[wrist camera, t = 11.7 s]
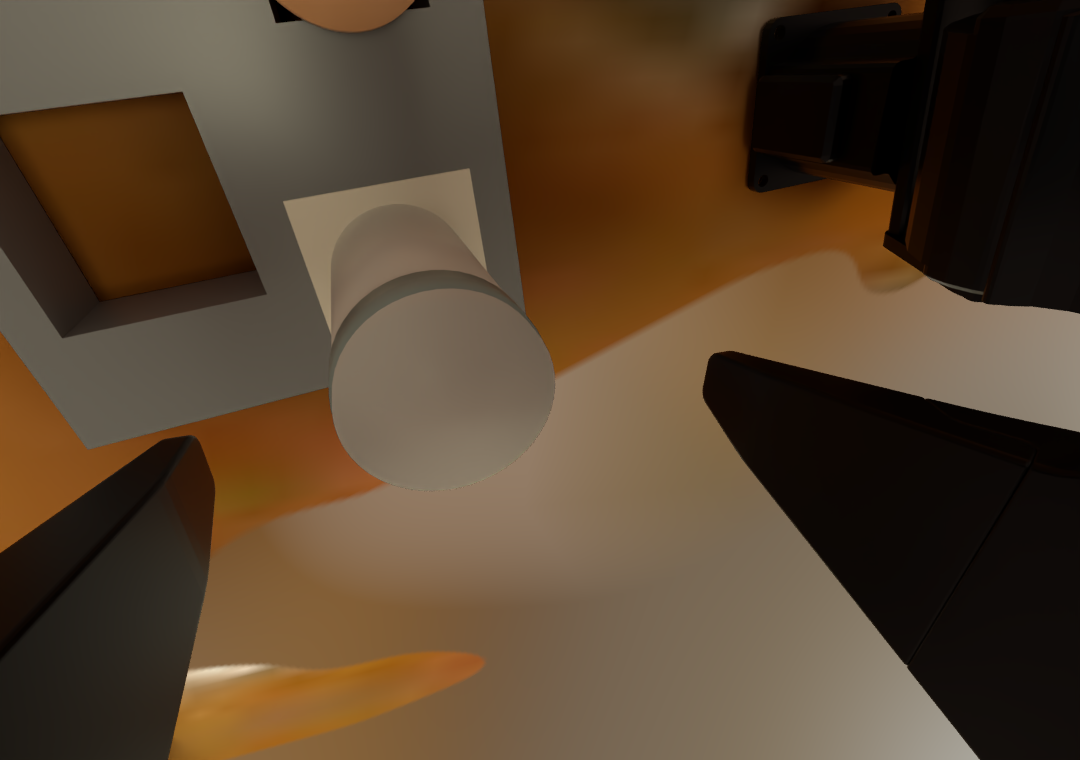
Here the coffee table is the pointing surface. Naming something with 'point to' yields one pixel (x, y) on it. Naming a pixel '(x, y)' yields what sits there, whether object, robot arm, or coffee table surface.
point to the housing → (243, 190)
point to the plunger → (347, 13)
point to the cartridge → (429, 356)
